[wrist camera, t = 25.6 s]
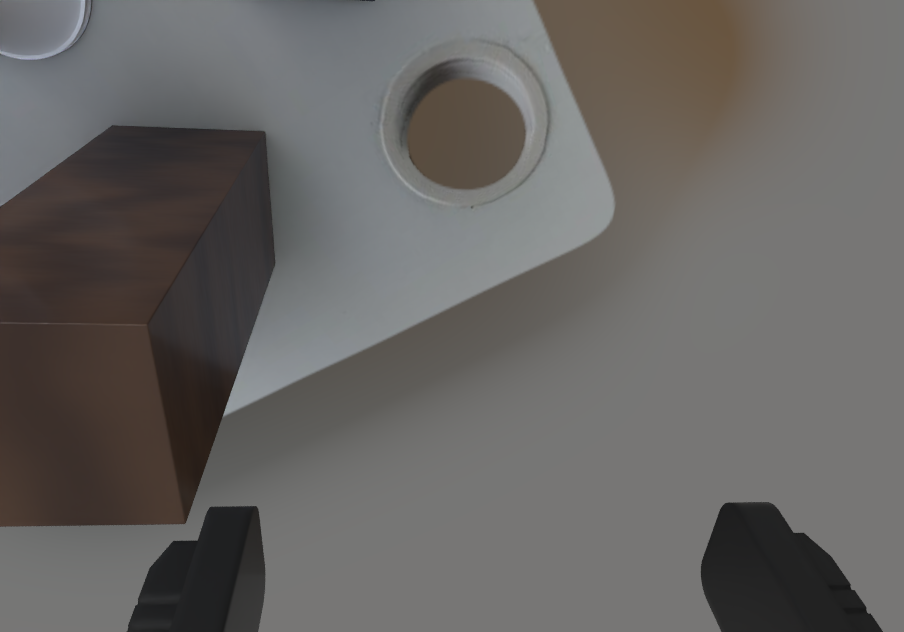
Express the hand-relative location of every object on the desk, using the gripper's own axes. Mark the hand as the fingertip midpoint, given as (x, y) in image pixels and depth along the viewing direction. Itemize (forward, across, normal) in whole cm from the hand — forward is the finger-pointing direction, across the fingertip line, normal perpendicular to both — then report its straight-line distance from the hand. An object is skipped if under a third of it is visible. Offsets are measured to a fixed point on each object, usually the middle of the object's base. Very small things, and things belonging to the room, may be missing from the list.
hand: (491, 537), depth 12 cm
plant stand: (+34, +14, +7) cm, 38 cm away
